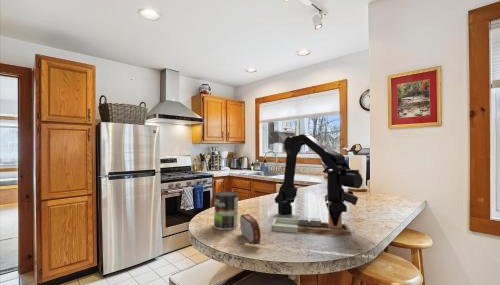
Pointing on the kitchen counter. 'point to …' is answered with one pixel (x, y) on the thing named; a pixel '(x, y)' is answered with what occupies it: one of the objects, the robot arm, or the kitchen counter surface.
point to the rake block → (331, 225)
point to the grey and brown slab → (250, 228)
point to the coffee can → (226, 210)
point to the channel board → (325, 230)
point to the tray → (285, 225)
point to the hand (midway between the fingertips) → (334, 223)
